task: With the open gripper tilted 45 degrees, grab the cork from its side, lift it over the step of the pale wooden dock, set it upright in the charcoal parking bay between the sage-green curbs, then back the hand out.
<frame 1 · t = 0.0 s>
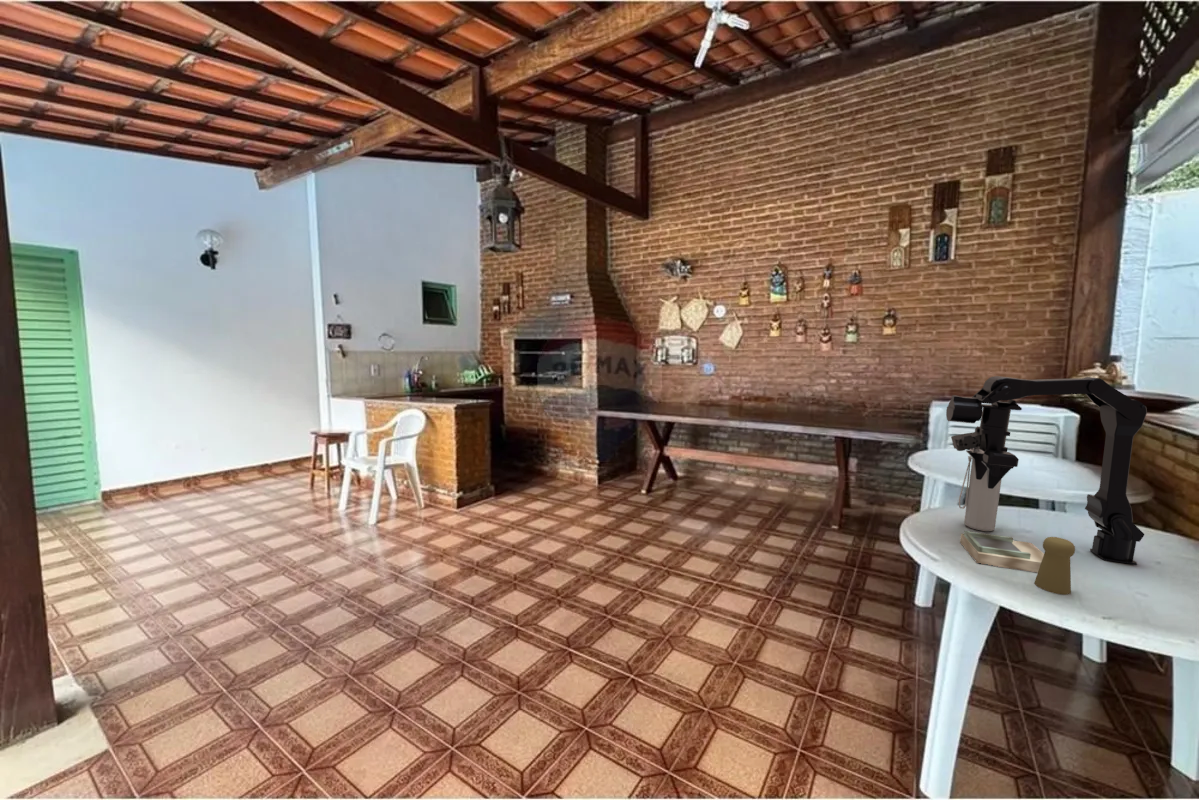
hand: (984, 483, 135), 15 cm above the table, tool pointing down, fingers open, 8 cm apart
dock: (1004, 557, 126), on the table
cork: (1052, 588, 112), on the table
water bottle: (974, 527, 146), on the table, touching gripper
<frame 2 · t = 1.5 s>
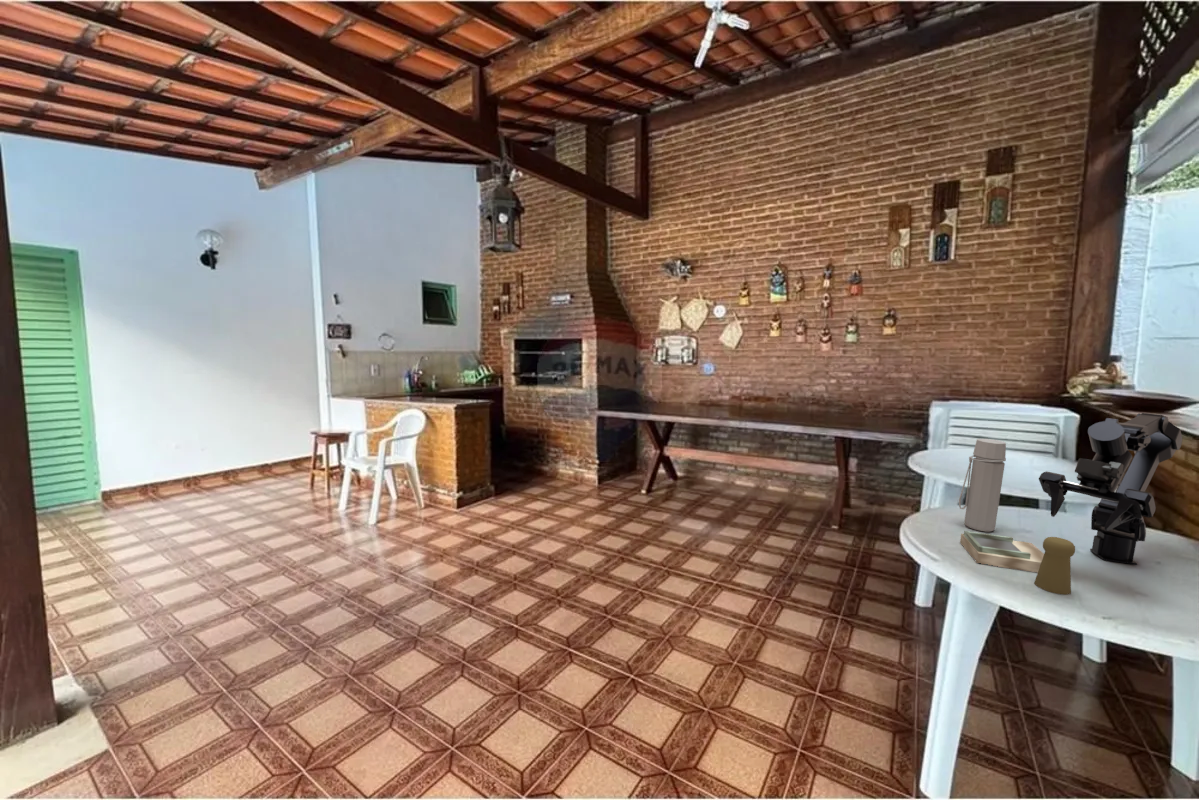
hand: (1077, 522, 114), 13 cm above the table, tool tilted 45°, fingers open, 9 cm apart
water bottle: (974, 528, 146), on the table
everything else where it was.
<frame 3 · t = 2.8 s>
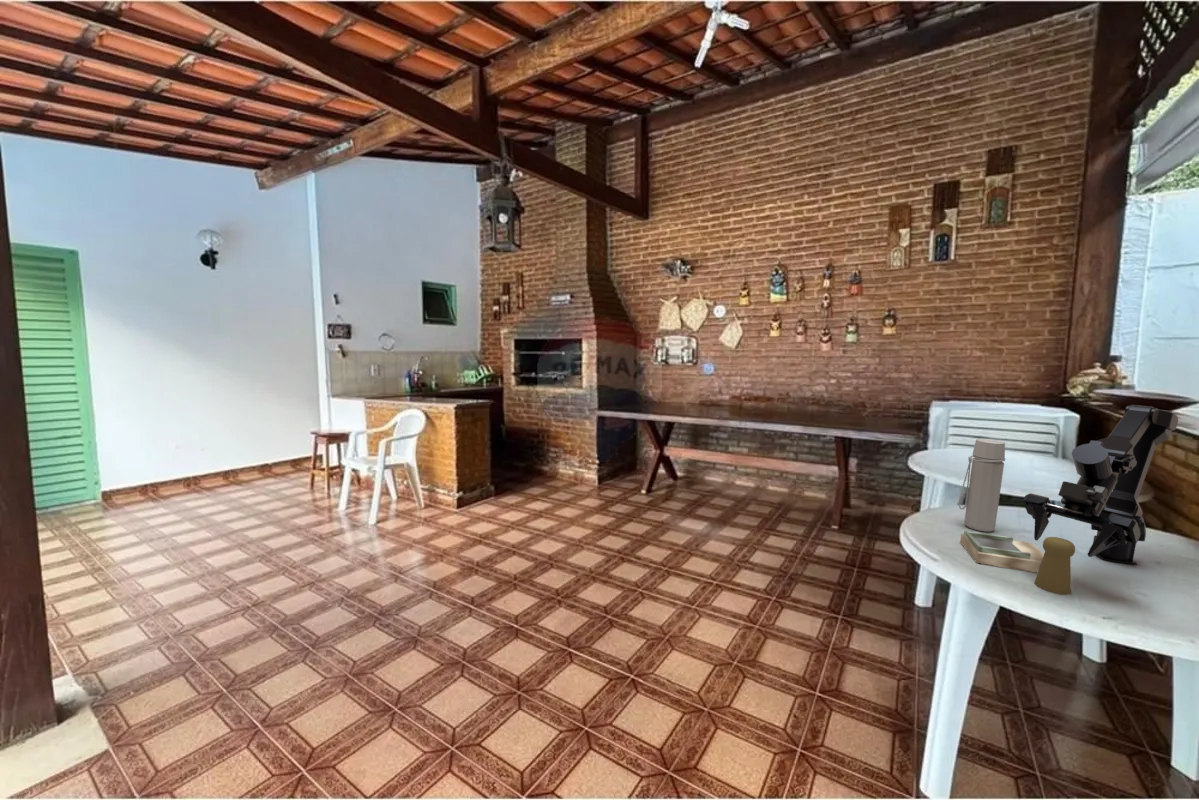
hand: (1061, 547, 111), 9 cm above the table, tool tilted 45°, fingers open, 9 cm apart
nothing on the table moved.
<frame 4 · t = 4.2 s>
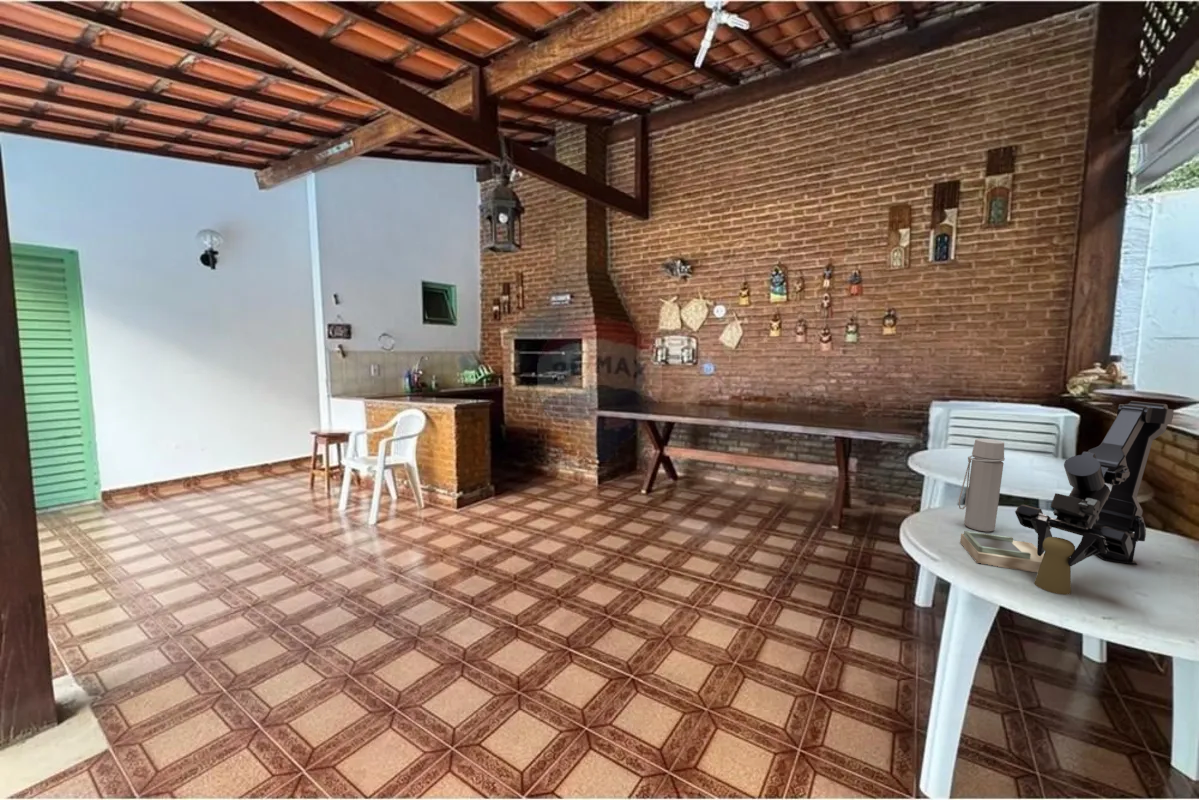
hand: (1053, 559, 110), 7 cm above the table, tool tilted 45°, fingers closed on cork, 5 cm apart
cork: (1052, 588, 112), on the table, touching gripper
everything else where it was.
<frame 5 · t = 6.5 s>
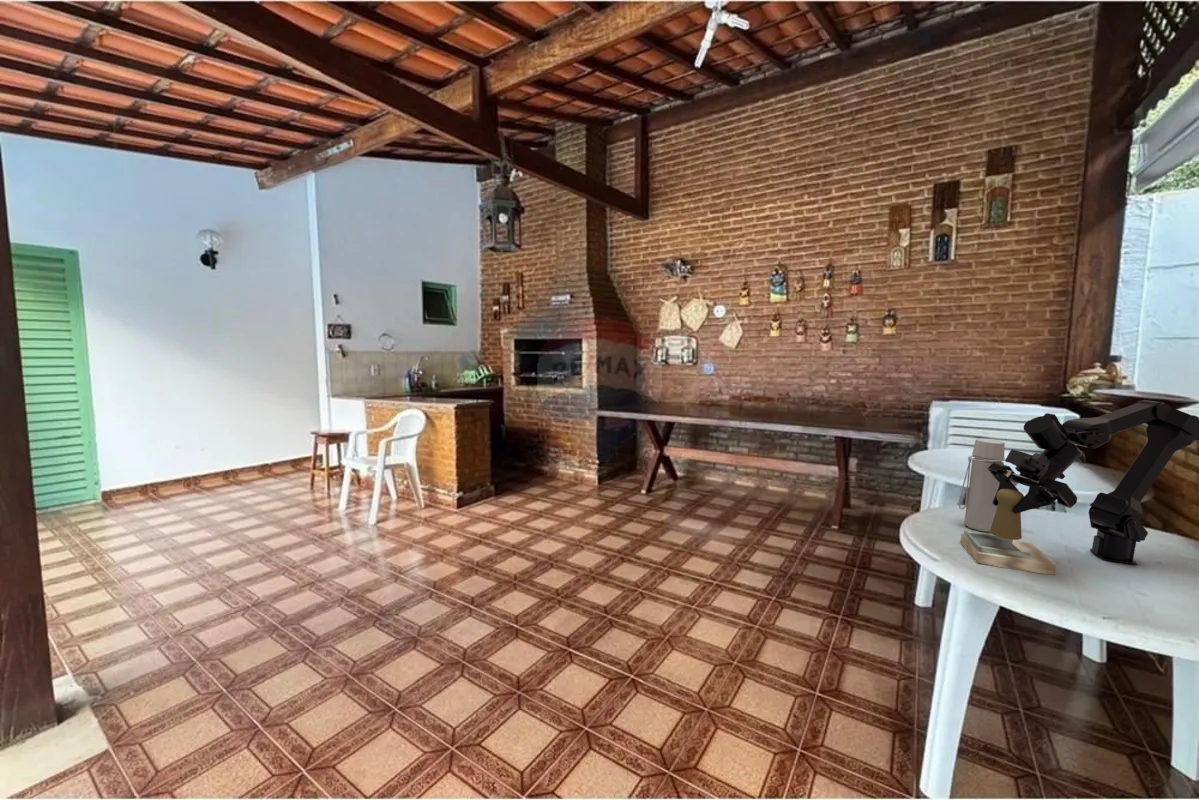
hand: (1003, 508, 122), 13 cm above the table, tool tilted 45°, fingers closed on cork, 5 cm apart
cork: (1005, 535, 123), point 6 cm above the table, touching gripper
everything else where it was.
when the fingers open (10 cm above the table, at t = 7.8 s): cork stays where it is, resting on dock.
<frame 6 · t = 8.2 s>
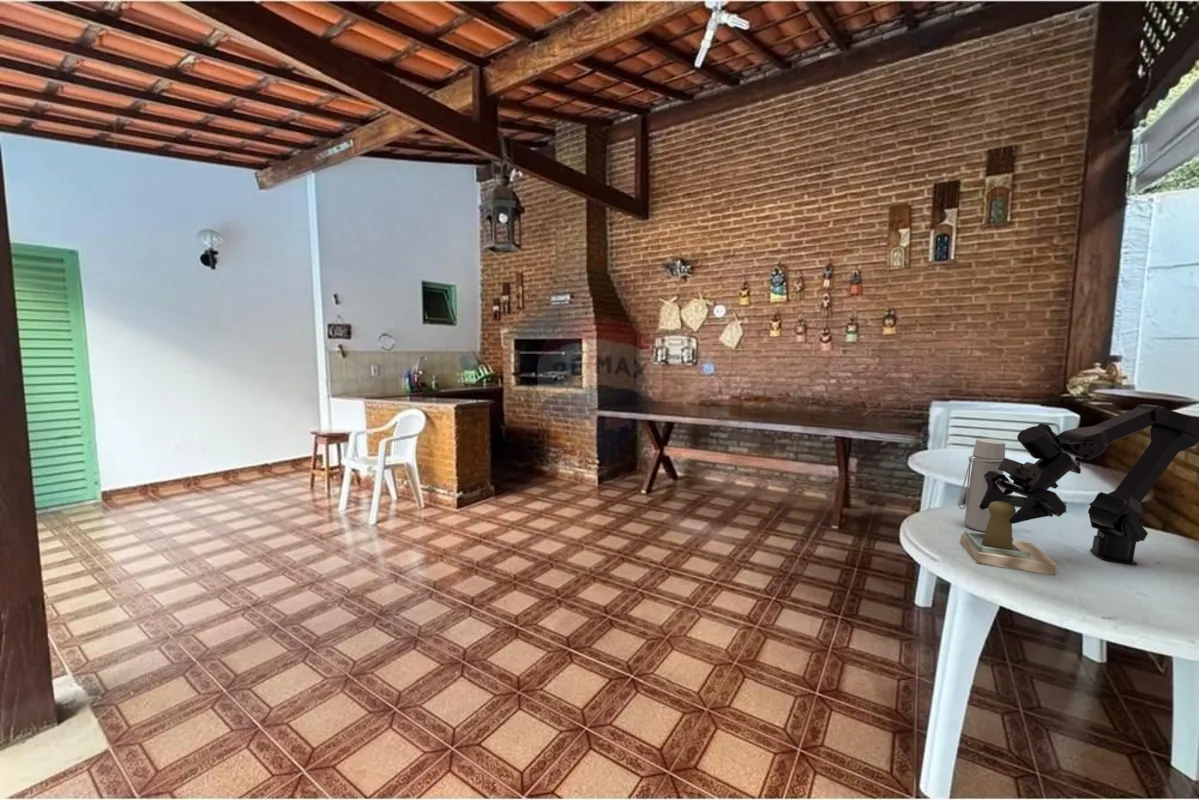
hand: (994, 515, 125), 11 cm above the table, tool tilted 45°, fingers open, 9 cm apart
cork: (996, 546, 126), point 3 cm above the table, touching dock
everything else where it was.
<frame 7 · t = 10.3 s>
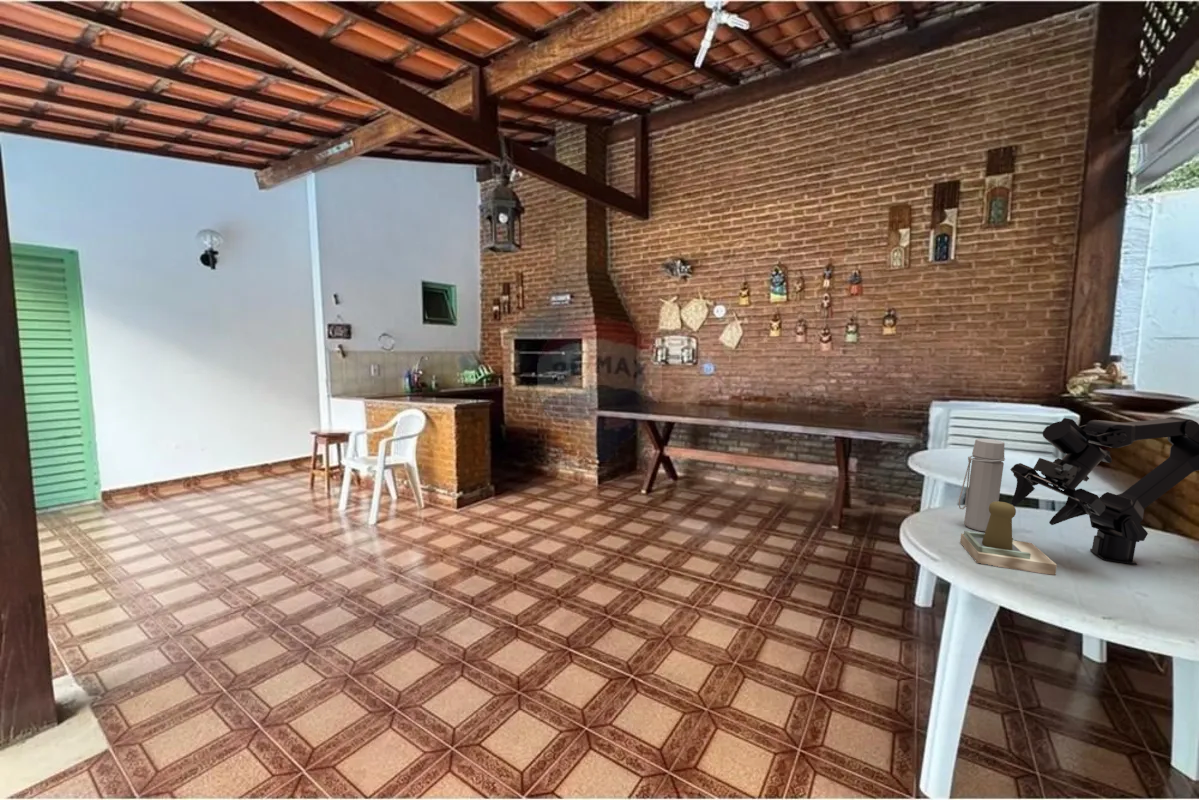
hand: (1030, 514, 126), 11 cm above the table, tool tilted 35°, fingers open, 9 cm apart
nothing on the table moved.
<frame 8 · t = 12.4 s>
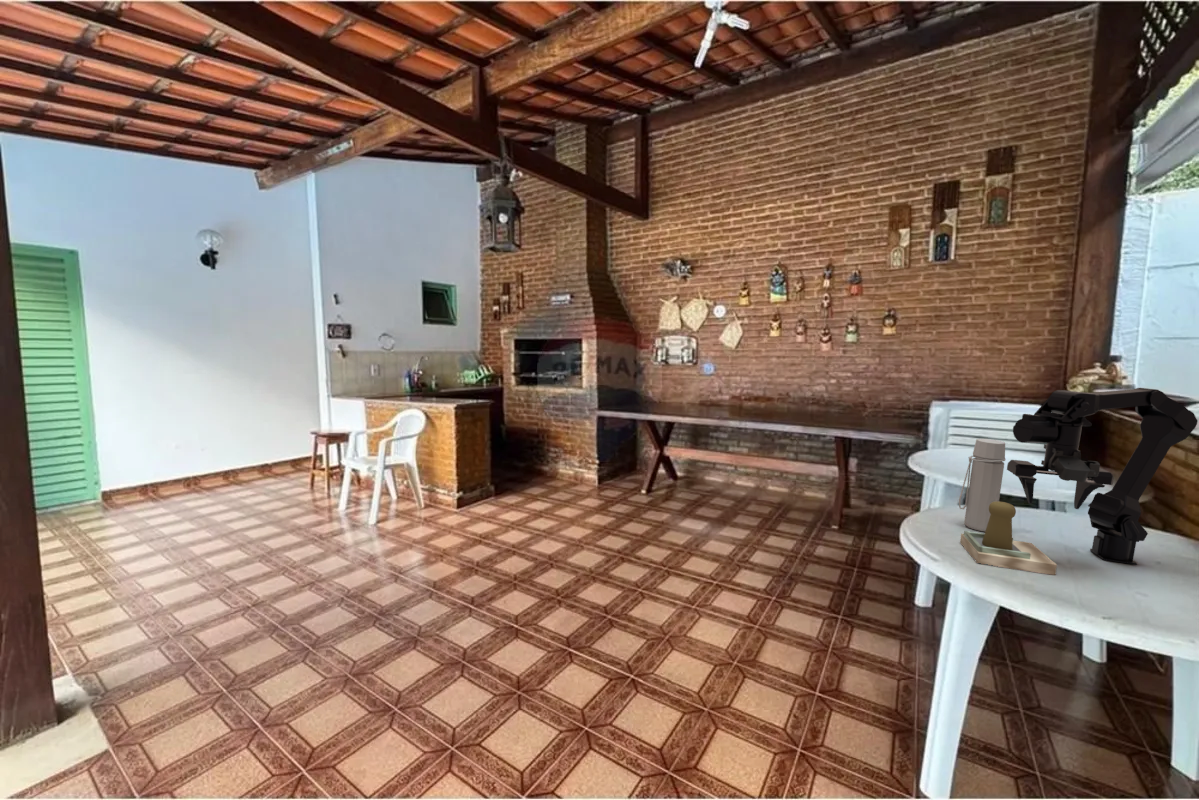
hand: (1052, 506, 126), 13 cm above the table, tool pointing down, fingers open, 9 cm apart
nothing on the table moved.
at the end: cork 0.1 cm from the target spot on the dock, point 2.5 cm above the dock's base; cork tilted 0°; the gripper is holding nothing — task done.
